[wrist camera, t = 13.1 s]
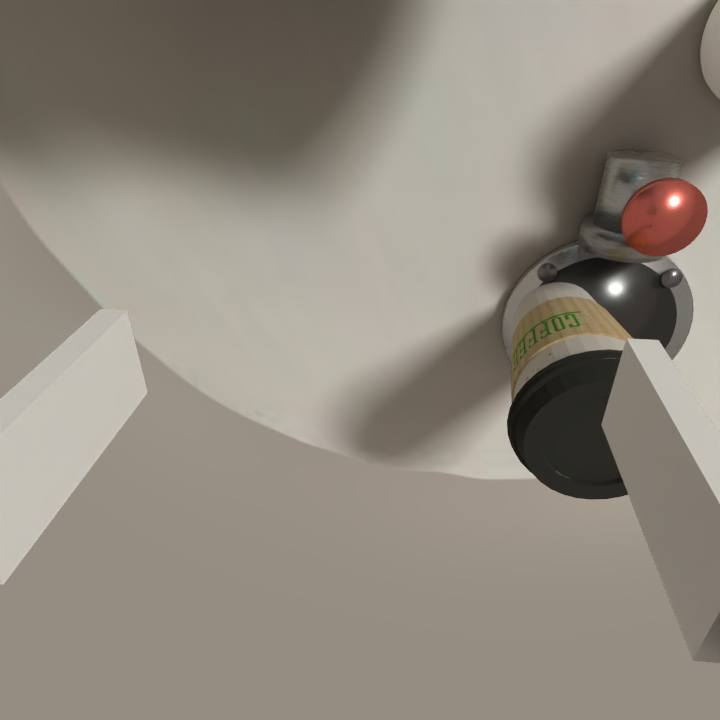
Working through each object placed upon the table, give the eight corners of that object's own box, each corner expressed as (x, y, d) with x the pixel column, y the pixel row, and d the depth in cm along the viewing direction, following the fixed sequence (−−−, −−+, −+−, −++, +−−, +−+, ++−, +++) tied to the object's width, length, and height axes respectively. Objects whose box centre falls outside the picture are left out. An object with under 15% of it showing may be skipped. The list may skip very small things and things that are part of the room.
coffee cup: (480, 273, 42) (499, 384, 30) (619, 246, 40) (704, 354, 27) (498, 380, 47) (521, 515, 34) (623, 361, 45) (697, 498, 32)
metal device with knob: (526, 145, 39) (546, 177, 32) (740, 150, 38) (812, 185, 30) (491, 382, 50) (500, 447, 42) (656, 393, 48) (695, 462, 41)
